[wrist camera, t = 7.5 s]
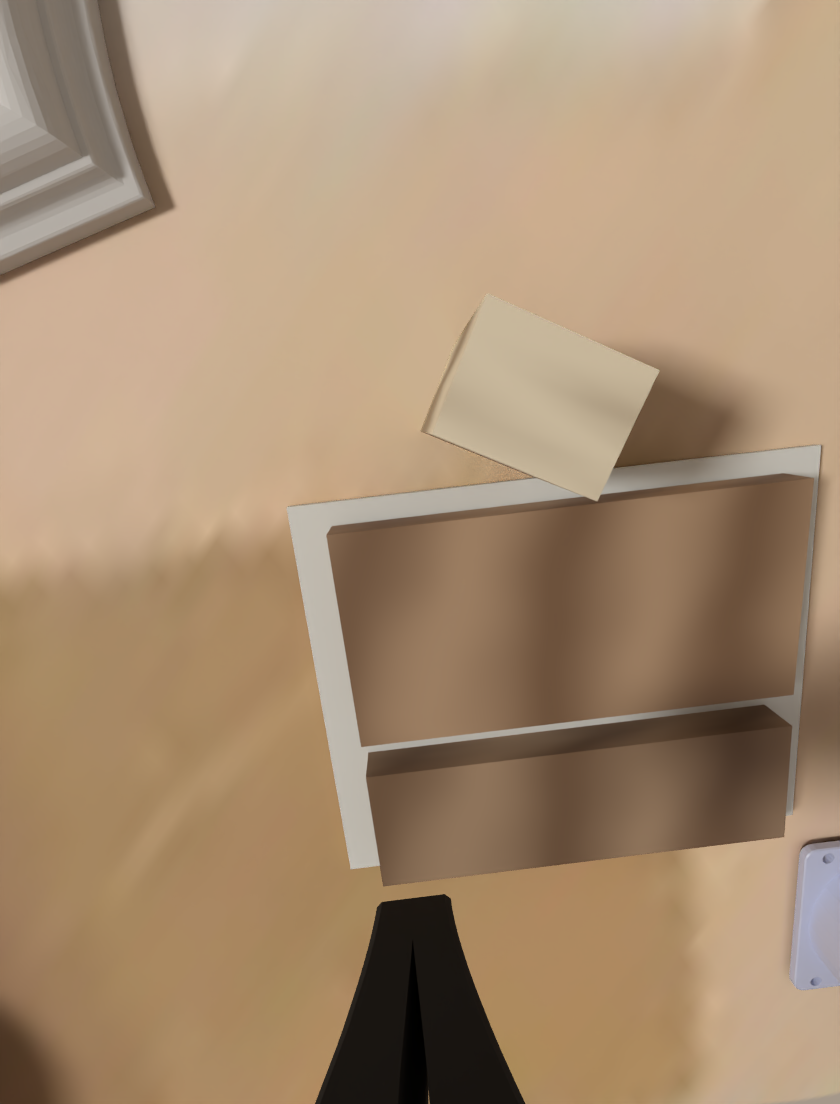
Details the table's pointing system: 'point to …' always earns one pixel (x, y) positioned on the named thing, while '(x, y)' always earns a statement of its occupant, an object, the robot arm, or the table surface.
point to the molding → (60, 132)
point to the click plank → (573, 607)
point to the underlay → (319, 517)
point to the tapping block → (538, 398)
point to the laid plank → (579, 794)
